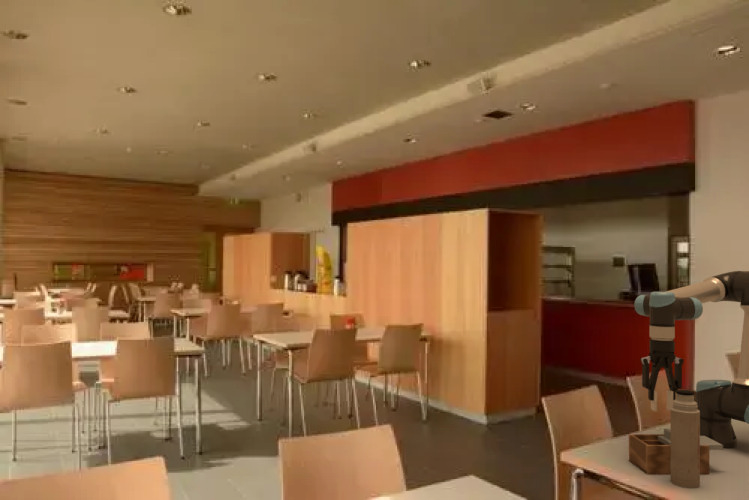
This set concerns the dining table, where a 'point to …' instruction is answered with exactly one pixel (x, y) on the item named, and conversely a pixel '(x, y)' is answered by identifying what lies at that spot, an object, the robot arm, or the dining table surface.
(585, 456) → the dining table surface
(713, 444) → the slate lid
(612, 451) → the dining table surface
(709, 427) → the robot arm
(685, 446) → the thermos bottle
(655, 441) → the walnut box
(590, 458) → the dining table surface
